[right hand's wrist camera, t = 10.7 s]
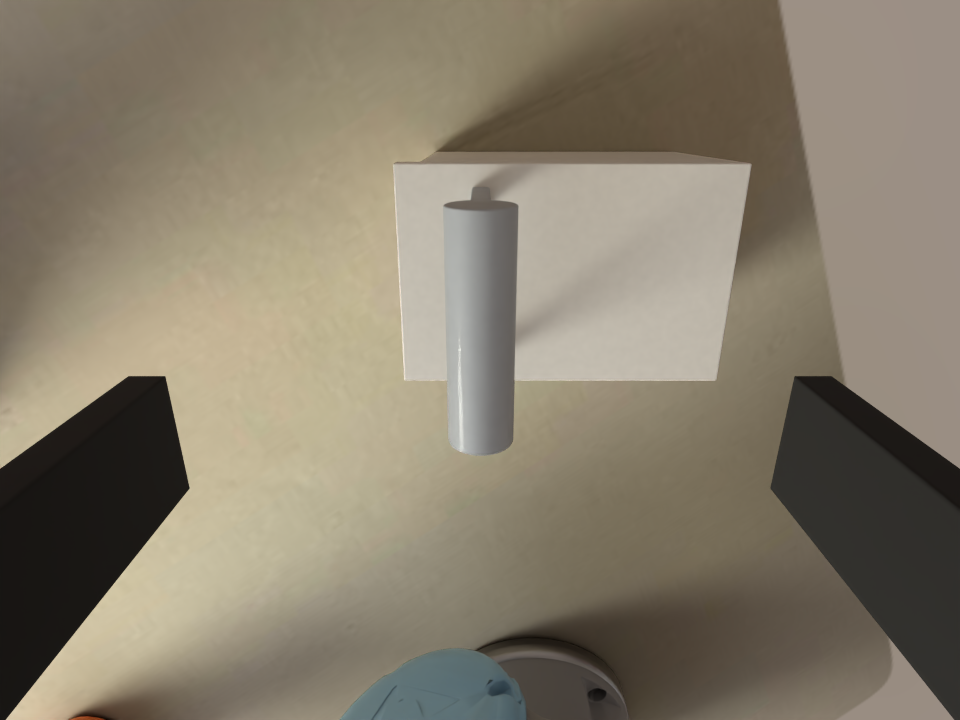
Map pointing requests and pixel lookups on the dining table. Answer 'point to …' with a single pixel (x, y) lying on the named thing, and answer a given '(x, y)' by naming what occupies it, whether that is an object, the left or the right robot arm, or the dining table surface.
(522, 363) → the lid
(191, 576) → the dining table surface
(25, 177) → the dining table surface
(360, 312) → the dining table surface
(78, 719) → the cup with straw
